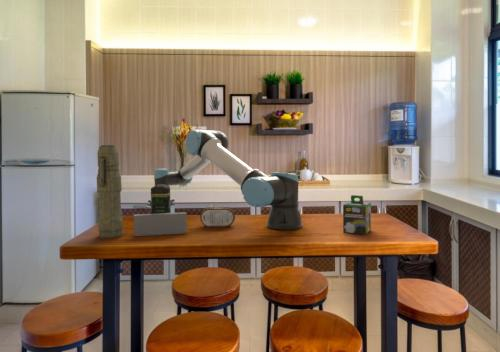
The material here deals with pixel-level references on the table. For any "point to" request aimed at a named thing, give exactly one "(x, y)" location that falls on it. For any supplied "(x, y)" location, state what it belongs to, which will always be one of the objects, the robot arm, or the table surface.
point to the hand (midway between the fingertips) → (160, 207)
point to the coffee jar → (160, 199)
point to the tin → (217, 216)
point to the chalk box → (357, 216)
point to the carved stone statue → (109, 192)
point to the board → (160, 224)
